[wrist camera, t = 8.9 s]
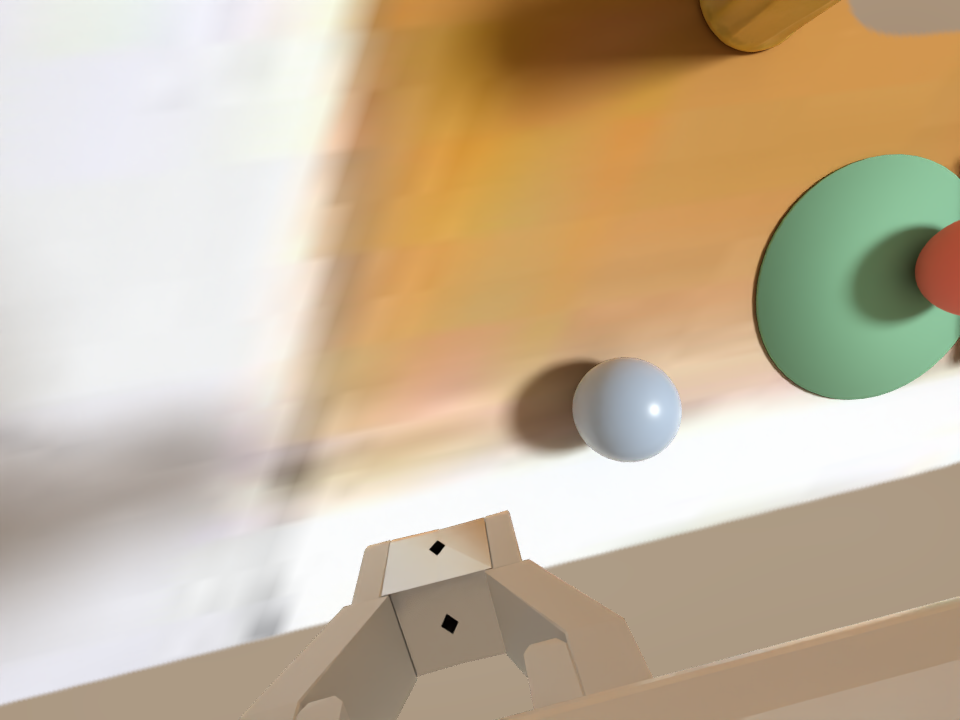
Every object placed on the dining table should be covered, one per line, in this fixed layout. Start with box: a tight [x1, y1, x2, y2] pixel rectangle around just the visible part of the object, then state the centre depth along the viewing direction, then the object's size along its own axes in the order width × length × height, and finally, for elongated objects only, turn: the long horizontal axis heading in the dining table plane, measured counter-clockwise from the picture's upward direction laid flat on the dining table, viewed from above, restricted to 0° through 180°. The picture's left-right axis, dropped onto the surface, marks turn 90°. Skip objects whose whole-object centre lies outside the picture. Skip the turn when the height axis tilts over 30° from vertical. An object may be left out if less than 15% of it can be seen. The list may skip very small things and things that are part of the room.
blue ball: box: [572, 357, 682, 462], centre depth 24 cm, size 6×6×6 cm
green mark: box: [756, 154, 960, 400], centre depth 27 cm, size 14×14×1 cm
